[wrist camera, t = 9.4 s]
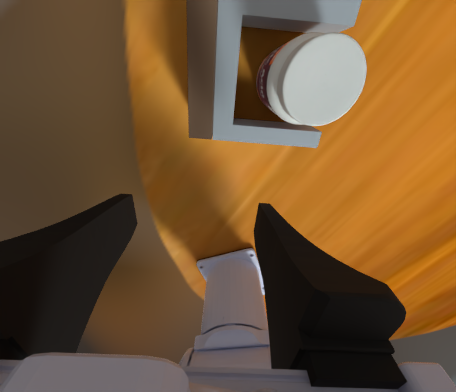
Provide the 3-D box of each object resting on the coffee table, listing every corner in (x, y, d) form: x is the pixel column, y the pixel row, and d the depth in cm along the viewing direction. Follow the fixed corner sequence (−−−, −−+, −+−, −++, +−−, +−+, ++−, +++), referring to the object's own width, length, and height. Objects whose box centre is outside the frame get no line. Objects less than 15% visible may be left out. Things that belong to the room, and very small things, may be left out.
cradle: (337, 13, 15) (362, -1, 12) (304, 137, 19) (317, 147, 17) (220, 1, 15) (219, -17, 12) (214, 130, 19) (212, 139, 16)
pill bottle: (270, 35, 16) (308, -3, 8) (323, 62, 16) (399, 48, 9) (246, 99, 18) (258, 113, 11) (293, 119, 19) (335, 146, 11)
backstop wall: (221, -7, 14) (218, -44, 10) (215, 125, 19) (211, 139, 15) (198, -9, 14) (185, -48, 10) (197, 124, 19) (188, 137, 14)
